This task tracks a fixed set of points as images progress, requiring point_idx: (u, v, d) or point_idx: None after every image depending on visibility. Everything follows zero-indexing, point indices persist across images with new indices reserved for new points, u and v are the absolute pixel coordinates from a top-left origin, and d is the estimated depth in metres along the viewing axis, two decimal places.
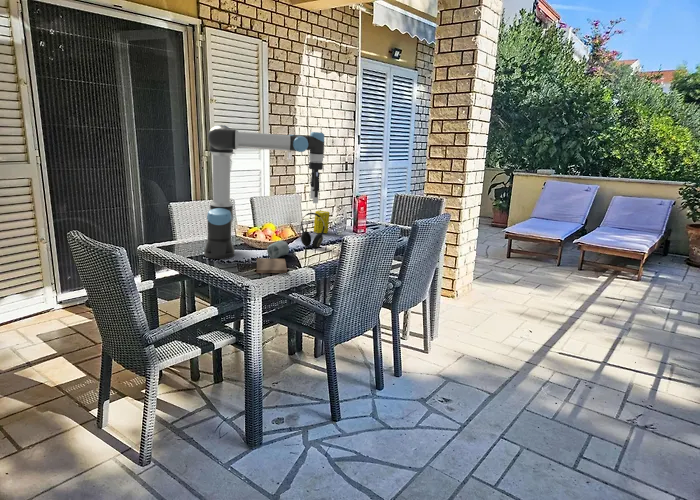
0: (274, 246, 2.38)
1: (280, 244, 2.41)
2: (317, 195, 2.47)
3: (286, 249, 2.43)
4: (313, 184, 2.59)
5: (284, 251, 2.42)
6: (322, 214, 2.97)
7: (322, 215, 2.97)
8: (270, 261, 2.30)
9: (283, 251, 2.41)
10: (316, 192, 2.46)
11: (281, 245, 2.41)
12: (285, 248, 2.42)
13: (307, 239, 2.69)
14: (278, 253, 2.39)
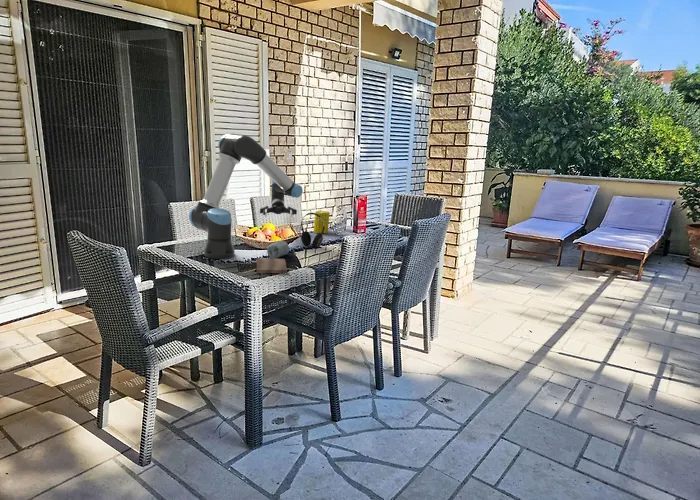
0: (274, 246, 2.38)
1: (280, 244, 2.41)
2: (291, 214, 2.56)
3: (286, 249, 2.43)
4: (267, 211, 2.57)
5: (284, 251, 2.42)
6: (322, 214, 2.97)
7: (322, 215, 2.97)
8: (270, 261, 2.30)
9: (283, 251, 2.41)
10: (293, 212, 2.58)
11: (281, 245, 2.41)
12: (285, 248, 2.42)
13: (307, 239, 2.69)
14: (278, 253, 2.39)
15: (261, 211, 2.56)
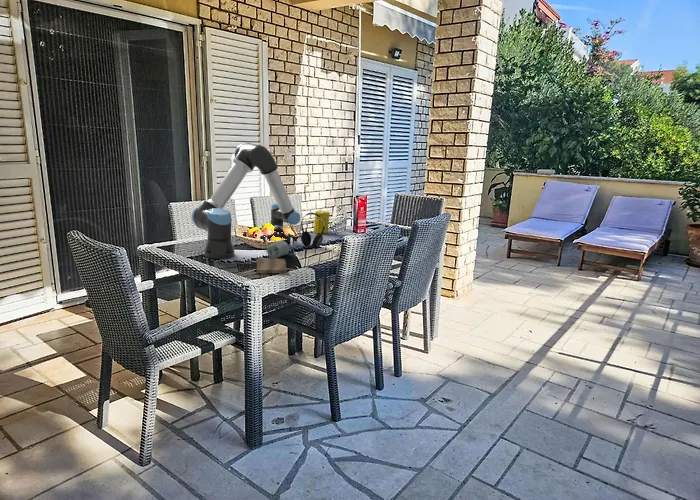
0: (274, 246, 2.38)
1: (280, 244, 2.41)
2: None
3: (286, 249, 2.43)
4: (267, 238, 2.56)
5: (284, 251, 2.42)
6: (322, 214, 2.97)
7: (322, 215, 2.97)
8: (270, 261, 2.30)
9: (283, 251, 2.41)
10: (294, 240, 2.57)
11: (281, 245, 2.41)
12: (285, 248, 2.42)
13: (307, 239, 2.69)
14: (278, 253, 2.39)
15: None
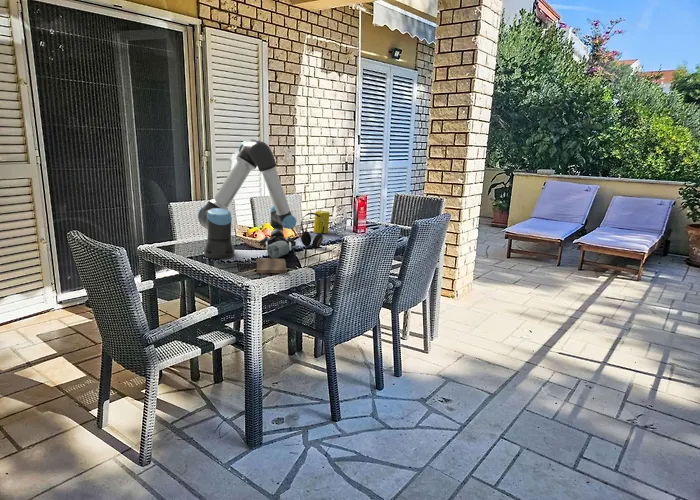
0: (274, 245, 2.38)
1: (280, 244, 2.41)
2: (290, 247, 2.46)
3: (286, 249, 2.43)
4: (267, 243, 2.47)
5: (284, 251, 2.42)
6: (322, 214, 2.97)
7: (322, 215, 2.97)
8: (270, 261, 2.30)
9: (283, 251, 2.41)
10: (292, 244, 2.47)
11: (281, 245, 2.41)
12: (285, 248, 2.42)
13: (307, 239, 2.69)
14: (278, 253, 2.39)
15: (261, 243, 2.45)
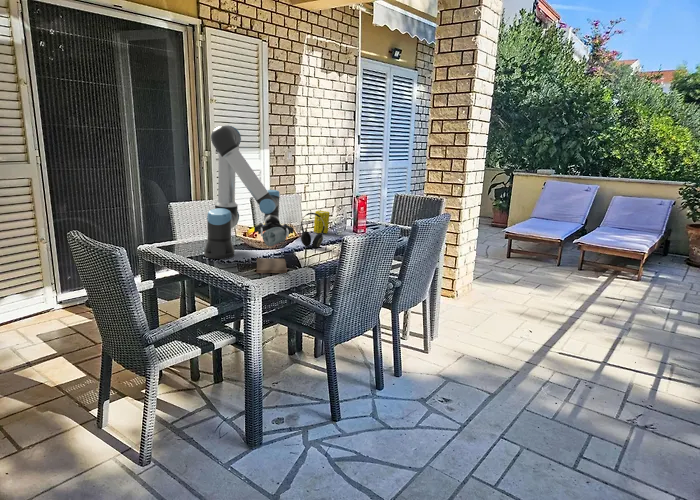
0: (271, 232, 2.18)
1: (277, 230, 2.20)
2: None
3: (283, 236, 2.23)
4: (262, 229, 2.26)
5: (281, 238, 2.22)
6: (322, 214, 2.97)
7: (322, 215, 2.97)
8: (270, 261, 2.30)
9: (280, 238, 2.21)
10: (290, 231, 2.27)
11: (278, 231, 2.20)
12: (282, 234, 2.22)
13: (307, 239, 2.69)
14: (275, 240, 2.18)
15: (256, 230, 2.24)
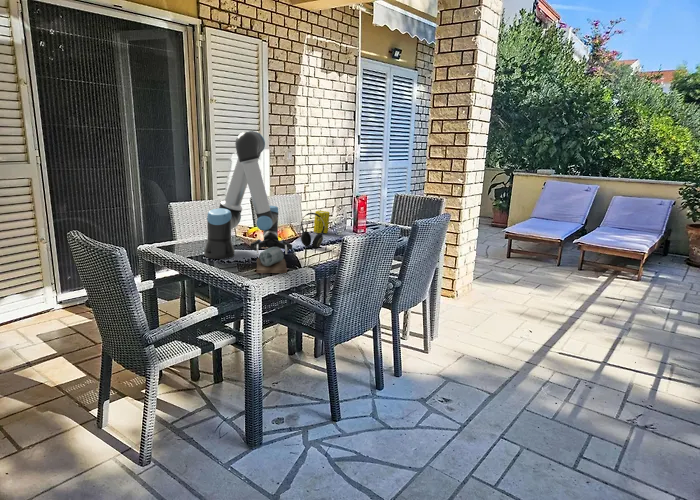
0: (267, 252, 2.19)
1: (274, 250, 2.22)
2: (286, 250, 2.27)
3: (280, 256, 2.24)
4: (258, 246, 2.27)
5: (278, 258, 2.23)
6: (322, 214, 2.97)
7: (322, 215, 2.97)
8: None
9: (277, 258, 2.22)
10: (288, 248, 2.28)
11: (275, 251, 2.21)
12: (279, 255, 2.23)
13: (307, 239, 2.69)
14: (271, 260, 2.20)
15: (252, 246, 2.26)
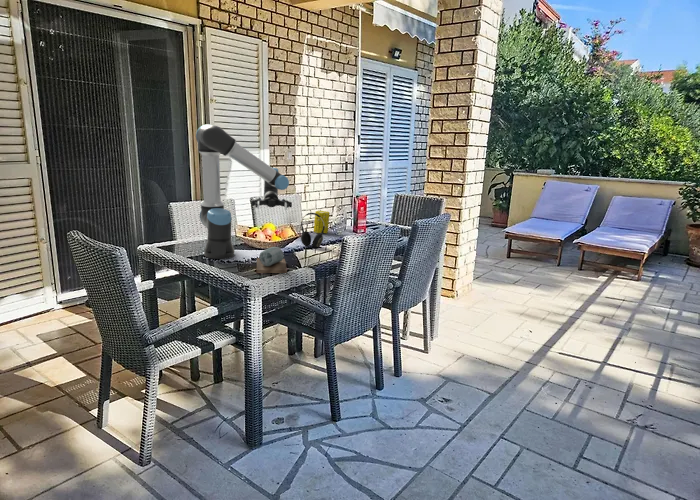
0: (267, 252, 2.19)
1: (274, 250, 2.22)
2: None
3: (280, 256, 2.24)
4: (259, 203, 2.37)
5: (278, 258, 2.23)
6: (322, 214, 2.97)
7: (322, 215, 2.97)
8: None
9: (277, 258, 2.22)
10: (288, 205, 2.38)
11: (275, 251, 2.21)
12: (279, 255, 2.23)
13: (307, 239, 2.69)
14: (271, 260, 2.20)
15: (253, 203, 2.35)
